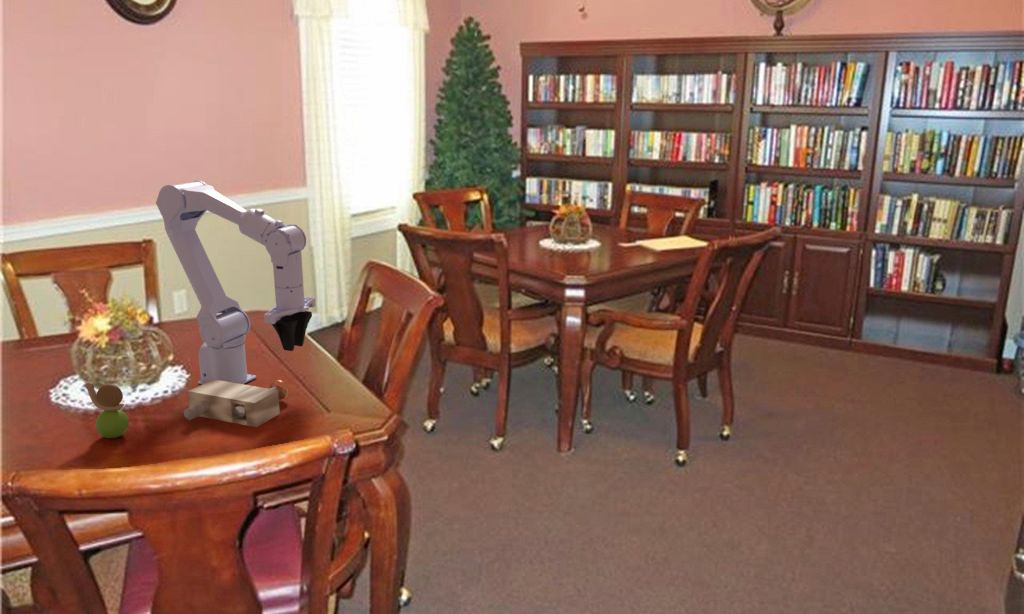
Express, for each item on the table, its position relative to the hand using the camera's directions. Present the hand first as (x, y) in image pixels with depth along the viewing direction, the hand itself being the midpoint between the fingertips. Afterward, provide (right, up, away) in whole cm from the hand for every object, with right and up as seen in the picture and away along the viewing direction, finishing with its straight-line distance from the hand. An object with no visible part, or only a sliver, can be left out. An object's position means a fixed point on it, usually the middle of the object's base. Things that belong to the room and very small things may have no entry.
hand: (293, 347), depth 163 cm
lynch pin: (-4, -12, -8) cm, 15 cm away
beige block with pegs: (-10, -13, -11) cm, 19 cm away
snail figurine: (-28, -16, -19) cm, 38 cm away
